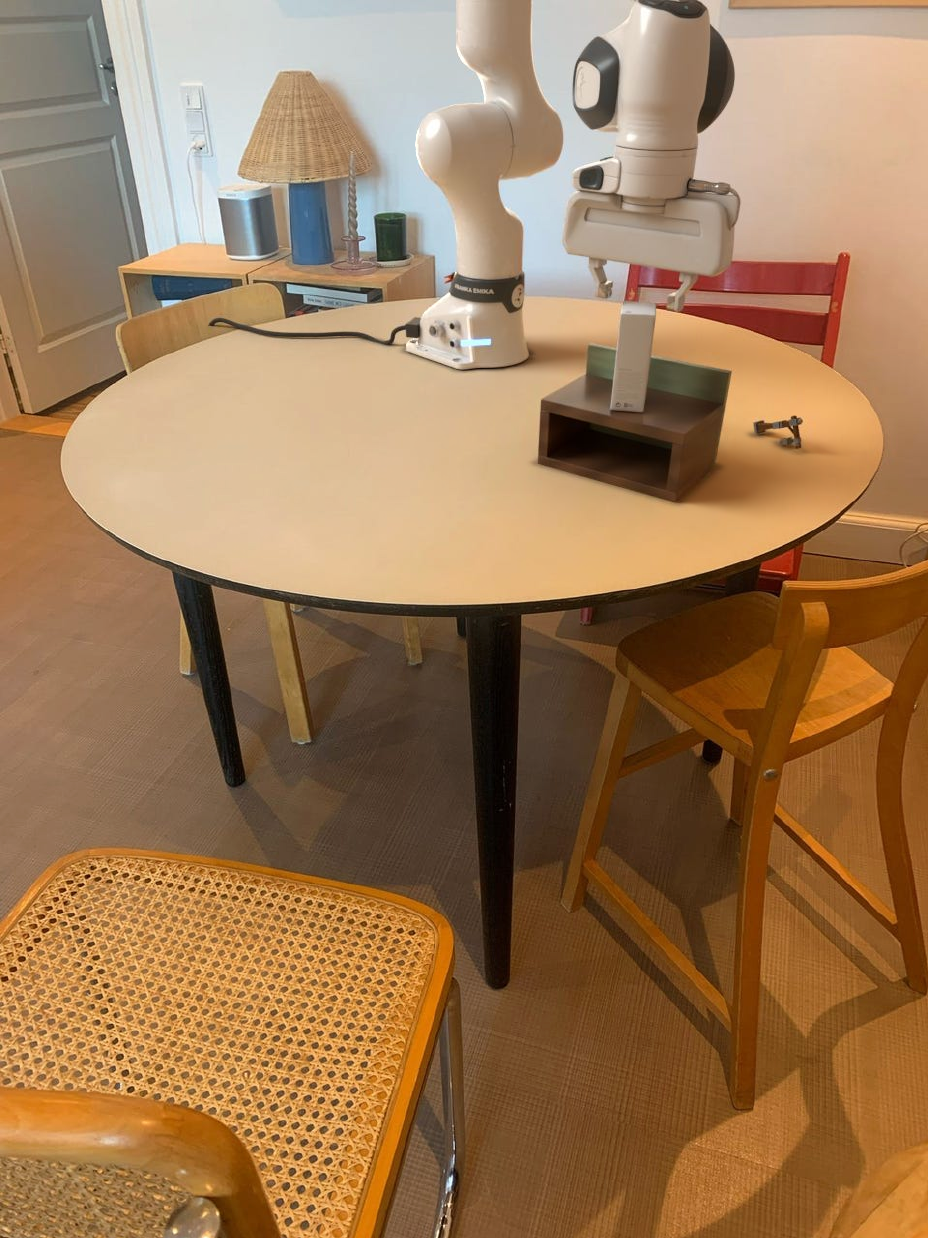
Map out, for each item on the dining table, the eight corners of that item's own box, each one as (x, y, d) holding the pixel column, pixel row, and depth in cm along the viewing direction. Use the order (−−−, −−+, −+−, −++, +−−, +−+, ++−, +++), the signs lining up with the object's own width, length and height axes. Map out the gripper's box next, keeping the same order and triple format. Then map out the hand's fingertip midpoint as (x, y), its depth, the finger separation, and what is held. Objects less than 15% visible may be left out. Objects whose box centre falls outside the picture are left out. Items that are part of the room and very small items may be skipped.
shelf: (537, 463, 117) (542, 368, 110) (584, 432, 126) (591, 342, 119) (675, 502, 108) (690, 401, 100) (715, 465, 116) (732, 370, 109)
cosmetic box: (644, 413, 108) (656, 315, 101) (609, 411, 109) (619, 313, 102) (645, 396, 113) (657, 301, 106) (612, 394, 113) (622, 299, 107)
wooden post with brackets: (800, 449, 119) (796, 415, 117) (756, 452, 126) (753, 420, 125) (809, 446, 119) (806, 413, 118) (765, 449, 126) (762, 418, 125)
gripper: (754, 180, 93) (731, 312, 101) (586, 163, 103) (577, 284, 111) (732, 188, 89) (710, 325, 97) (559, 170, 98) (552, 295, 106)
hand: (638, 303), depth 104 cm, fingers open, 8 cm apart
